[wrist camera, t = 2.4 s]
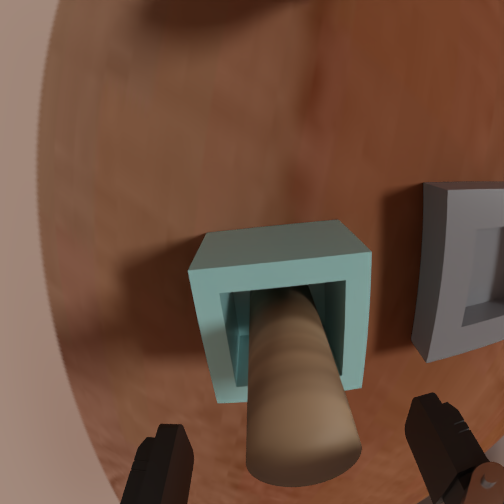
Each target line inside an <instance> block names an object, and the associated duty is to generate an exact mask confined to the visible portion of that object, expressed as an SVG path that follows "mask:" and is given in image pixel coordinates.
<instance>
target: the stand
mask: <svg viewBox="0 0 504 504" xmlns="http://www.w3.org/2000/svg"><path fill="white" fill-rule="evenodd" d="M501 340H504V182H426V183H423V233H422V251H421V264H420V275H419V285H418V294H417V302H416V310H415V317H414V324H413V330H412V336H411V341H412V343H413V344H414V346H415V347H416V349H417V350H418V352H419V353H420V354H421V356H422V357H423V359H424V360H425V362H426V363H428V362H432V361H436V360H440V359H444V358H447V357H451V356H454V355H458V354H461V353H464V352H468V351H471V350H474V349H477V348H481V347H484V346H487V345H490V344H493V343H496V342H498V341H501Z"/></svg>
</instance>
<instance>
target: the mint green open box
mask: <svg viewBox="0 0 504 504" xmlns="http://www.w3.org/2000/svg"><path fill="white" fill-rule="evenodd" d="M371 254H372V252H371V251H370V250H369V249H368V248H367V247H366V246H365V245H364V244H363V243H362V242H361V241H360V240H359V239H358V238H357V237H356V236H355V235H354V234H353V233H352V232H351V231H350V230H349V229H348V228H347V227H346V226H345V225H344V224H342V223H341V222H340V221H339V220H328V221H317V222H307V223H296V224H286V225H276V226H266V227H256V228H247V229H237V230H228V231H219V232H210V233H206V235H205V237H204V239H203V241H202V243H201V245H200V247H199V249H198V251H197V253H196V255H195V257H194V259H193V261H192V263H191V265H190V267H189V269H188V274H189V279H190V284H191V289H192V294H193V299H194V304H195V309H196V314H197V318H198V323H199V327H200V332H201V336H202V341H203V345H204V350H205V354H206V358H207V362H208V367H209V371H210V375H211V379H212V383H213V387H214V391H215V395H216V399H217V403H235V402H247V399H248V357H249V315H250V290H259V289H269V288H279V287H289V286H298V285H307V284H308V286H309V289H310V292H311V295H312V297H313V300H314V303H315V306H316V309H317V311H318V314H319V317H320V320H321V323H322V326H323V329H324V331H325V334H326V337H327V340H328V343H329V346H330V349H331V352H332V355H333V358H334V361H335V364H336V367H337V370H338V373H339V376H340V379H341V382H342V385H343V388H344V391H345V390H351V389H357V388H362V380H363V372H364V363H365V354H366V344H367V333H368V320H369V305H370V286H371Z"/></svg>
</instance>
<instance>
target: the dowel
mask: <svg viewBox="0 0 504 504" xmlns="http://www.w3.org/2000/svg"><path fill="white" fill-rule="evenodd" d="M361 450H362V447H361V442H360V439H359V436H358V432H357V429H356V426H355V423H354V419H353V416H352V413H351V410H350V407H349V404H348V400H347V397H346V394H345V391H344V388H343V385H342V382H341V379H340V376H339V373H338V370H337V367H336V364H335V361H334V358H333V355H332V352H331V349H330V346H329V343H328V340H327V337H326V334H325V331H324V329H323V326H322V323H321V320H320V317H319V314H318V311H317V309H316V306H315V303H314V300H313V297H312V295H311V292H310V289H309V286H308V284H307V285H298V286H289V287H279V288H269V289H259V290H250V315H249V357H248V399H247V441H246V466H247V469H248V471H249V472H250V474H252V475H253V476H254V477H255V478H257V479H258V480H260V481H262V482H265V483H268V484H271V485H276V486H283V487H301V486H309V485H314V484H318V483H322V482H325V481H328V480H331V479H333V478H335V477H337V476H339V475H341V474H342V473H344V472H346V471H347V470H348V469H349V468H351V467H352V466H353V465H354V464H355V463H356V461H357V460H358V458H359V457H360V454H361Z"/></svg>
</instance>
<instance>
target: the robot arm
mask: <svg viewBox="0 0 504 504" xmlns="http://www.w3.org/2000/svg"><path fill="white" fill-rule="evenodd" d="M405 435H406V439H407V441H408V444H409V446H410V448H411V451H412V453H413V455H414V458H415V460H416V463H417V465H418V467H419V470H420V472H421V475H422V477H423V480H424V482H425V484H426V487H427V490H428V492H429V495H430V497H431V500H432V502H433V504H441V503H443V502H444V503H445V504H504V467H503V466H502V465H500V464H498V463H496V462H490V461H489V460H488V459H487V457H486V456H485V454H484V452H483V450H482V449H481V447H480V445H479V444H478V442H477V440H476V439H475V437H474V435H473V434H472V432H471V430H469V427H468V425H467V424H466V422H464V419H463V417H462V416H461V414H460V412H459V411H458V410H457V409H456V408H455V407H453V406H452V405H451V404H449V403H448V402H446V403H443V404H442V403H441V401H440V400H439V398H438V397H437V395H436V394H435V393H429V394H425V395H422V396H418V397H415V398H413V400H412V403H411V407H410V410H409V413H408V417H407V420H406V423H405ZM134 460H135V461H134V462H133V465H132V468H131V469H132V470H131V471H130V474H129V477H128V480H127V484H126V487H125V490H124V493H123V497H122V500H121V503H120V504H187V502H188V495H189V489H190V483H191V477H192V471H193V464H194V454H193V449H192V447H191V444H190V442H189V439H188V437H187V434H186V432H185V429H184V427H183V425H181V424H160V425H159V427H158V430H157V433H156V437H155V438H153V437H147V438H146V439H145V440H144V441H143V442H142V443H141V445H140V446H139V447H138V449H137V452H136V455H135V458H134Z"/></svg>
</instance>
